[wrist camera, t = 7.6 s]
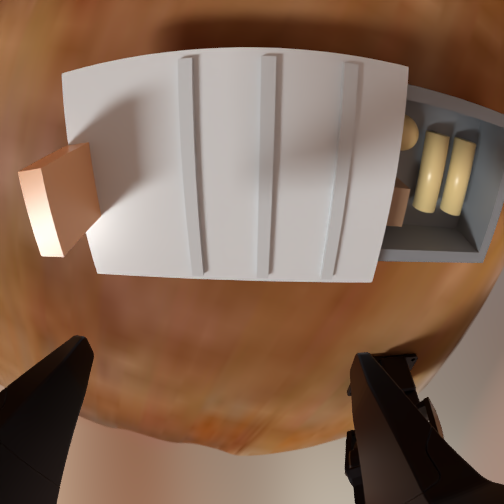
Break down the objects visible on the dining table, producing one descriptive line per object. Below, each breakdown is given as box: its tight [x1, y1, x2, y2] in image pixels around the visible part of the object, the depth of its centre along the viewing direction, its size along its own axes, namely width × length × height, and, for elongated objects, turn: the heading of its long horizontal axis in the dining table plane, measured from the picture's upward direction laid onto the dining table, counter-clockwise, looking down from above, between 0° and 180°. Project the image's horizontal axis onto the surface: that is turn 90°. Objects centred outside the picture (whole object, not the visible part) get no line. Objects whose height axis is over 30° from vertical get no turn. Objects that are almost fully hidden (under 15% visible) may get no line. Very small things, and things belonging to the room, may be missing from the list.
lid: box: [18, 47, 409, 282], centre depth 12 cm, size 12×16×5 cm
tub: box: [378, 84, 504, 263], centre depth 16 cm, size 10×14×4 cm
